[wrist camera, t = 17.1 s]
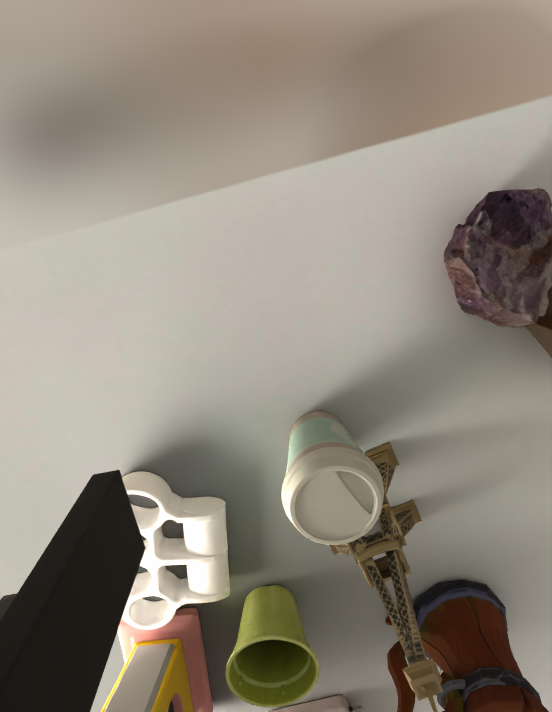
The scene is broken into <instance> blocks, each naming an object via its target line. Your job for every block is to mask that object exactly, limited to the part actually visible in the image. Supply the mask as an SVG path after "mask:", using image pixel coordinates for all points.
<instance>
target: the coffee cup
mask: <svg viewBox="0 0 552 712" xmlns="http://www.w3.org/2000/svg"><path fill="white" fill-rule="evenodd" d="M281 498H282V503H283V507H284V509H285V512H286V514H287V516H288V518H289V519H290V521H291V522H292V523H293V524H294V525H295V527H296V528H297V529H298V531H299V532H300V533H301V534H303V535H304V536H305V537H307V538H308V539H310V540H312V541H315V542H317V543H321V544H326V545H340V544H345V543H349V542H352V541H354V540H357V539H359V538H360V537H362V536H363V535H365V534H366V533H367V532H369V531H370V530H371V529H372V527H373V526H374V525H375V524H376V522H377V520H378V518H379V516H380V514H381V510H382V504H383V499H384V487H383V480H382V477H381V474H380V472H379V470H378V468H377V467H376V465H375V464H374V463H373V462H372V461H371V460H370V459H369V458H368V457H367V456H365V455H364V454H363V452H362V451H361V450H360V448H359V447H358V445H357V444H356V442H355V441H354V439H353V438H352V437H351V435H350V434H349V432H348V431H347V429H346V428H345V427H344V425H343V424H342V422H341V421H340V420H339V419H338V418H337V417H336V416H334V415H332V414H330V413H327V412H322V411H316V412H311V413H308V414H305V415H304V416H302V417H301V418H299V419H298V420H297V421H296V423H295V424H294V425H293V427H292V430H291V434H290V442H289V452H288V462H287V472H286V476H285V478H284V481H283V484H282V489H281Z"/></svg>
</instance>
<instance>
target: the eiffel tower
mask: <svg viewBox="0 0 552 712" xmlns="http://www.w3.org/2000/svg"><path fill="white" fill-rule="evenodd" d="M366 455H367V457H368V458H369V459H370V460H371V461H372V462H373V463H374V464H375V465H376V467H377V468H378V470H379V472H380V474H381V477H382V480H383V487H384V499H383V504H382V510H381V514H380V516H379V522H380V526H381V531H379V532H377V533H375V534H372V535H369V536H362V537H360V538H359V539H357V540H354V541H352V542H349V543H345V544H340V545H330V547H331V549H332V551H333V553H334V554H337V553H339V552H340V553H342V554H346V555H351V556H354V558H355V560H356V562H357V564H358V563H359V565H360V567H361V569H362V571H363V574H364V576H365V578H366V580H367V582H368V584H369V586H370V587H371V589H372V588H374V587H376V589H377V591H378V593H379V596H380V598H381V600H382V602H383V604H384V606H385V608H386V610H387V613H388V615H389V617H390V620H391V622H392V624H393V627H394V629H395V631H396V634H397V636H398V638H399V641H400V643H401V645H402V648H403V650H404V652H405V655H406V657H407V660H408V662H409V664H410V666H408V667H406V668H404V669H402V670H403V672H404V674H405V676H406V678H407V680H408V682H409V684H410V686H411V689H412V690H413V691H414V692H415V694H416V696H417V698H418V700H421V699H424V698H427V697H428V699H429V701H430V704H431V706H432V709H433V711H434V712H437V709H436V705H435V702H434V699H433V695H436V694H439V693H442V692H443V689H442V687H441V685H440V684H441V682H442V678H441V676H440V674H439V671H438V669H437V667H436V665H435V662H434V660H433V658H432V659H428V660H427V658H426V654H425V650H424V647H423V643H422V640H421V636H420V632H419V629H418V625H417V622H416V618H415V613H414V609H413V605H412V601H411V597H410V593H409V588H408V584H407V580H406V576H405V575H410V567H409V565H408V563H407V560H406V558H405V555H404V553H403V551H402V546H405V545H407V544H406V542H405V539H404V537H405V535H406V534H407V533H408V532H409V531H410V530H411V529H412V527H413V526H414V525H415V523H417V522H420V521H422V520H421V518H420V515H419V513H418V510H417V508H416V505H415V503H414V501H413V500H411V501H409V502H406V503H404V504H401V505H399V506H396V507H393V508H391V507H390V504H389V502H388V500H387V497H386V494H387V491H388V488H389V485H390V482H391V479H392V476H393V473H394V470H395V469H394V468H396V467H395V466H397V465H399V464H398V461H397V459H396V456H395V454H394V451H393V449H392V446H391V444H390V442H389V443H386V444H384V445H381V446H379V447H376V448H374V449H372V450H369V451H367V452H366ZM383 552H386V555H387V556H385V557H382V558H379V559H377V560H373V558H372V557H373V556H375V555H378V554H381V553H383ZM391 579H392V581H393V585H394V590H395V594H396V598H397V603H398V606H399V609H400V612H401V615H402V617H401V615H400V613H399V611H398V609H397V607H396V605H395V603H394V601H393V599H392V597H391V595H390V593H389V591H388V588H387V586H386V584H385V581H388V580H391ZM402 618H403V620H402ZM403 621H404V622H403Z"/></svg>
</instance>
